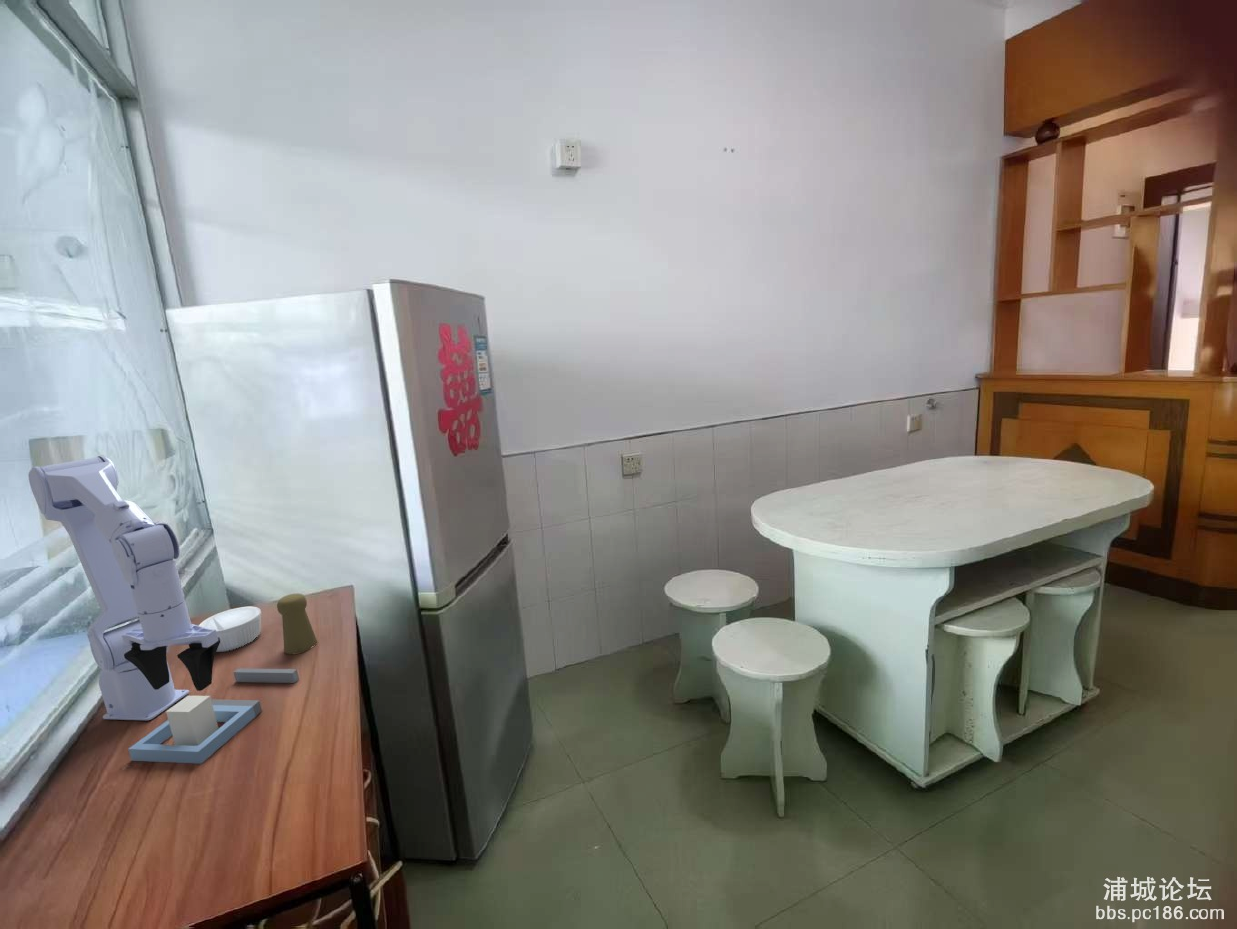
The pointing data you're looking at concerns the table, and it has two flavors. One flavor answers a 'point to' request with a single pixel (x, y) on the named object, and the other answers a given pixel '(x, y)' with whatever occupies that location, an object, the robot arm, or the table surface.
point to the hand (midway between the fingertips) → (183, 686)
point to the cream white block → (192, 720)
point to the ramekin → (235, 627)
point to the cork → (296, 624)
